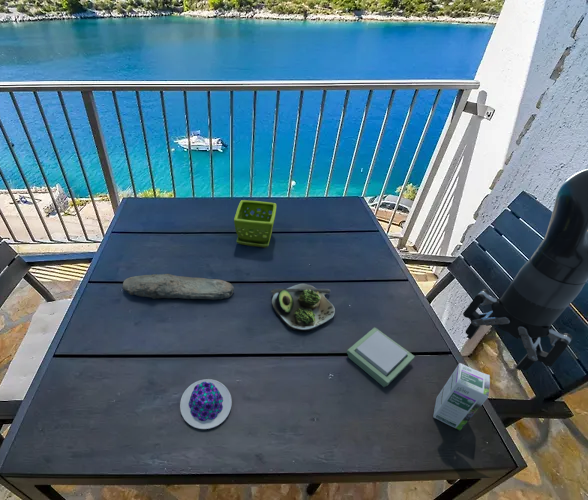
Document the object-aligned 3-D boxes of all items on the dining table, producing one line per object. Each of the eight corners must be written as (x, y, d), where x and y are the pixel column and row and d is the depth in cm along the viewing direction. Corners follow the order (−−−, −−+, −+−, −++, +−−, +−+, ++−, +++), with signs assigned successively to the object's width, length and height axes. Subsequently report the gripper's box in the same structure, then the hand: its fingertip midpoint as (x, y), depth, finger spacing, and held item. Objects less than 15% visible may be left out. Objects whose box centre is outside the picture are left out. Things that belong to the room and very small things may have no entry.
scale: (411, 363, 90) (415, 356, 88) (384, 389, 84) (388, 383, 83) (372, 333, 97) (374, 327, 96) (345, 356, 92) (347, 349, 90)
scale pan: (406, 356, 89) (408, 353, 88) (385, 376, 84) (387, 372, 83) (375, 334, 94) (377, 330, 93) (355, 351, 90) (356, 348, 89)
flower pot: (240, 226, 138) (240, 198, 131) (275, 230, 136) (277, 202, 128) (233, 248, 128) (232, 219, 120) (270, 252, 126) (273, 223, 118)
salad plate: (313, 278, 115) (315, 267, 112) (349, 315, 103) (352, 304, 100) (262, 297, 108) (263, 286, 106) (294, 339, 96) (296, 328, 93)
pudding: (239, 419, 79) (239, 407, 76) (187, 438, 75) (185, 427, 72) (222, 374, 88) (221, 362, 84) (175, 390, 84) (172, 378, 81)
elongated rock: (232, 308, 106) (234, 286, 114) (233, 295, 103) (234, 274, 111) (118, 299, 107) (128, 278, 115) (115, 286, 104) (126, 266, 112)
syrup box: (432, 417, 79) (457, 383, 70) (435, 396, 83) (460, 361, 74) (460, 431, 77) (489, 397, 68) (462, 409, 81) (491, 374, 72)
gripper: (483, 275, 57) (446, 336, 67) (590, 330, 49) (529, 391, 59) (502, 257, 61) (464, 318, 71) (605, 305, 52) (545, 366, 62)
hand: (493, 351), depth 65 cm, fingers open, 8 cm apart
